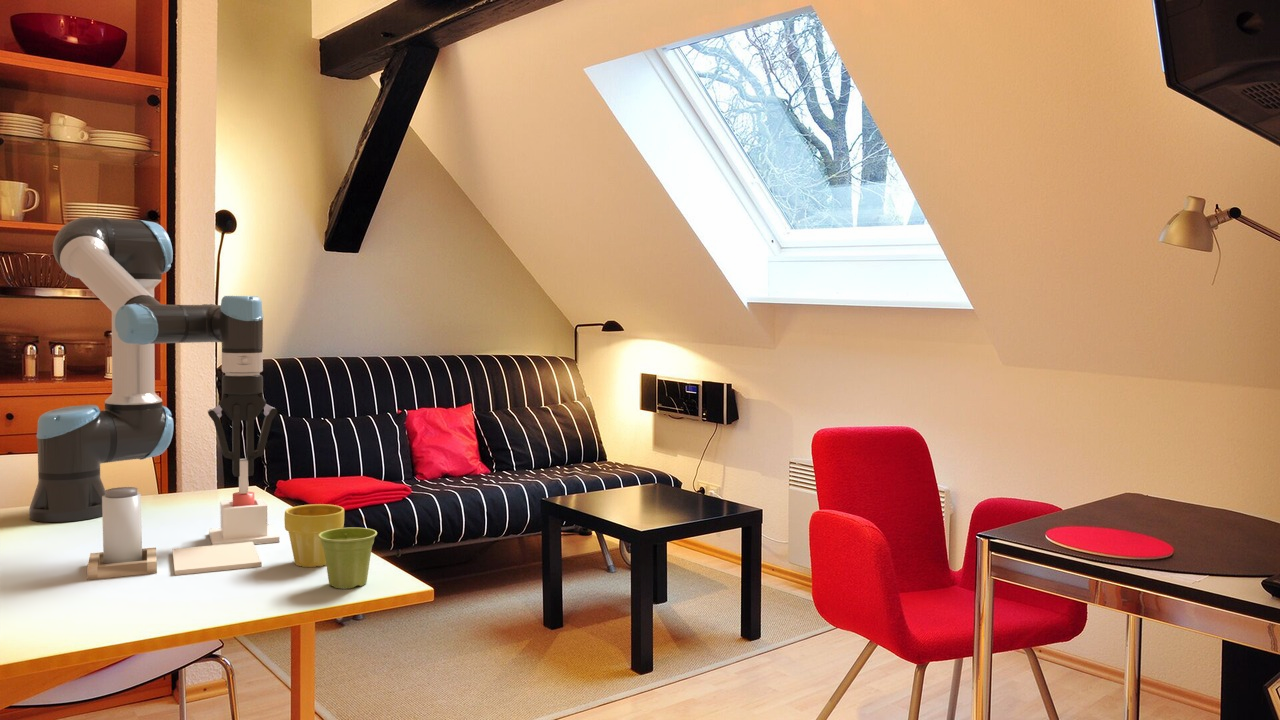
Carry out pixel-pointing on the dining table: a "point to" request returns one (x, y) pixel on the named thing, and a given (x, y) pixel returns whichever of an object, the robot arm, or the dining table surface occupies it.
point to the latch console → (244, 524)
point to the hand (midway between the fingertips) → (243, 492)
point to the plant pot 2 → (347, 555)
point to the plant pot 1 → (311, 531)
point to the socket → (121, 566)
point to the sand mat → (215, 558)
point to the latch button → (243, 499)
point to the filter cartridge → (122, 525)
